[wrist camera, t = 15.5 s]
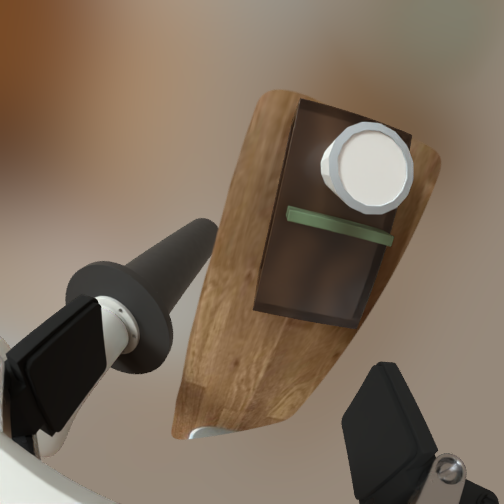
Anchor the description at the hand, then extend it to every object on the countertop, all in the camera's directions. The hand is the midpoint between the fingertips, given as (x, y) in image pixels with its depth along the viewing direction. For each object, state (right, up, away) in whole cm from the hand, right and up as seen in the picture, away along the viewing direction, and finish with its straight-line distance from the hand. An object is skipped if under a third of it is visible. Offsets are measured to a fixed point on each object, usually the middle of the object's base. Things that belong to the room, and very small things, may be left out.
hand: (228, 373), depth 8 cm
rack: (+10, +10, +28) cm, 31 cm away
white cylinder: (+10, +12, +16) cm, 22 cm away
